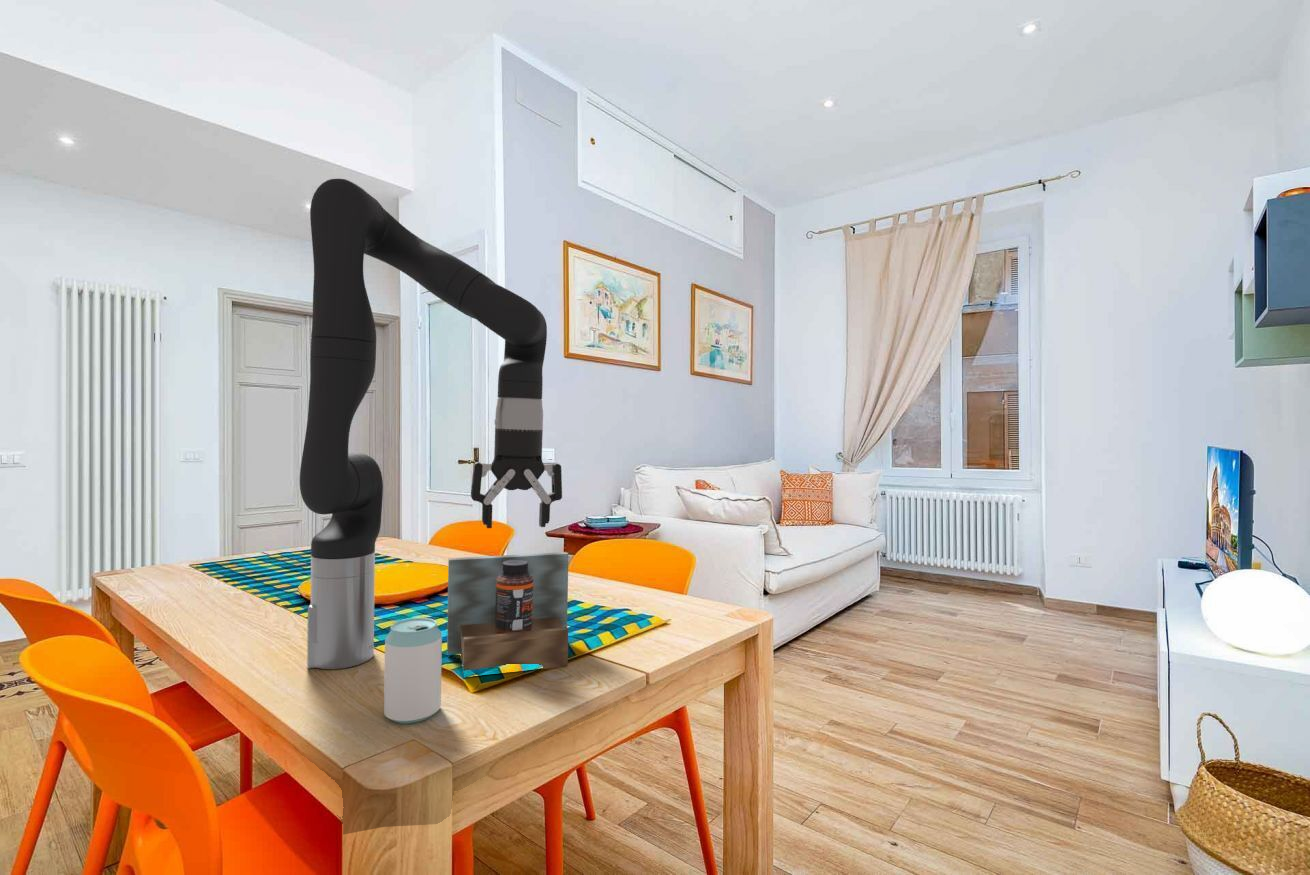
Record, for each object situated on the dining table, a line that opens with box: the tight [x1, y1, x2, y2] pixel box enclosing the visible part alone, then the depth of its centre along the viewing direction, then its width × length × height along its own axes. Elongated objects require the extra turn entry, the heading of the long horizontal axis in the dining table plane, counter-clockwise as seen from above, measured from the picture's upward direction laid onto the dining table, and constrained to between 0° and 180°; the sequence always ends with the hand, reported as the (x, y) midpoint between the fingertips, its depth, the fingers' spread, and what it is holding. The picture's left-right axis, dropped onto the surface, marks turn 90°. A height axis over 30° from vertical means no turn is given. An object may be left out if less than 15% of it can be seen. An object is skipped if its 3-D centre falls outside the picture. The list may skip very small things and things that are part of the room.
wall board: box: [446, 551, 569, 671], centre depth 102 cm, size 20×11×16 cm, turn 110°
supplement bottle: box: [495, 560, 533, 634], centre depth 101 cm, size 6×6×11 cm
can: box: [383, 617, 443, 724], centre depth 83 cm, size 7×7×12 cm
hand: (516, 526), depth 100 cm, fingers open, 8 cm apart
